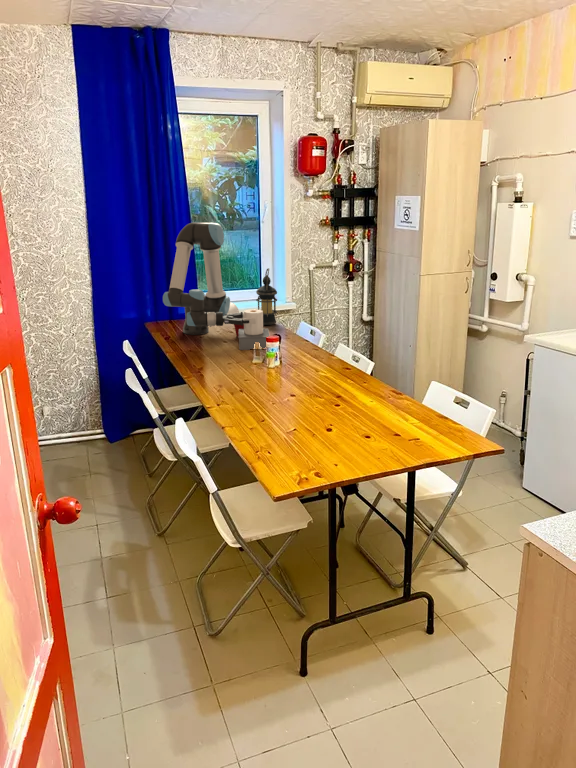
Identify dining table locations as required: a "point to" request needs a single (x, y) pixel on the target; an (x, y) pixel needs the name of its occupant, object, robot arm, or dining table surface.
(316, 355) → the dining table surface
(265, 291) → the lantern
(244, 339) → the grey box
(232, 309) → the rocket engine
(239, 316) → the robot arm
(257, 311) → the toilet paper
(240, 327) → the plastic cup
